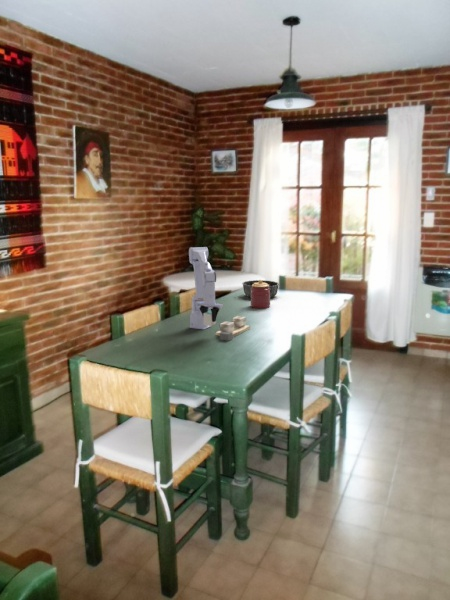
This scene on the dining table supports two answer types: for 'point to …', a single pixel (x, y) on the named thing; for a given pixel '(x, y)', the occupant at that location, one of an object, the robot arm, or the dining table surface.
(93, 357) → the dining table surface
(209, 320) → the block
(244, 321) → the board
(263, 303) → the canister
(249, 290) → the bundt pan
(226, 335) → the box
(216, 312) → the robot arm
